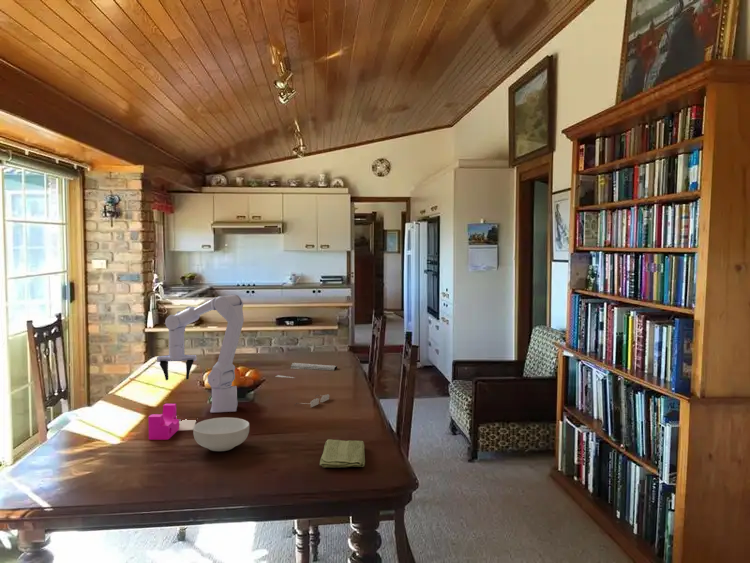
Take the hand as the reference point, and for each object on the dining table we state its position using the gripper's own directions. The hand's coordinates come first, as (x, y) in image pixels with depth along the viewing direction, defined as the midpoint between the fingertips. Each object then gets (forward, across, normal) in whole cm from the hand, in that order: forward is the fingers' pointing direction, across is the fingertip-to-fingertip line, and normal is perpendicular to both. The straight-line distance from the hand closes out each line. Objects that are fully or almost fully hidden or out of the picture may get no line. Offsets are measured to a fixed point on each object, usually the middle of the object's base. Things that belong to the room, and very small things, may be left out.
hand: (177, 379), depth 221 cm
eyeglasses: (+11, -52, +9) cm, 54 cm away
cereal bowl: (+11, -20, +52) cm, 56 cm away
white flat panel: (+10, -2, +22) cm, 25 cm away
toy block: (+10, -1, +34) cm, 35 cm away
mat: (+11, -54, -39) cm, 67 cm away
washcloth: (+11, -56, +67) cm, 88 cm away
